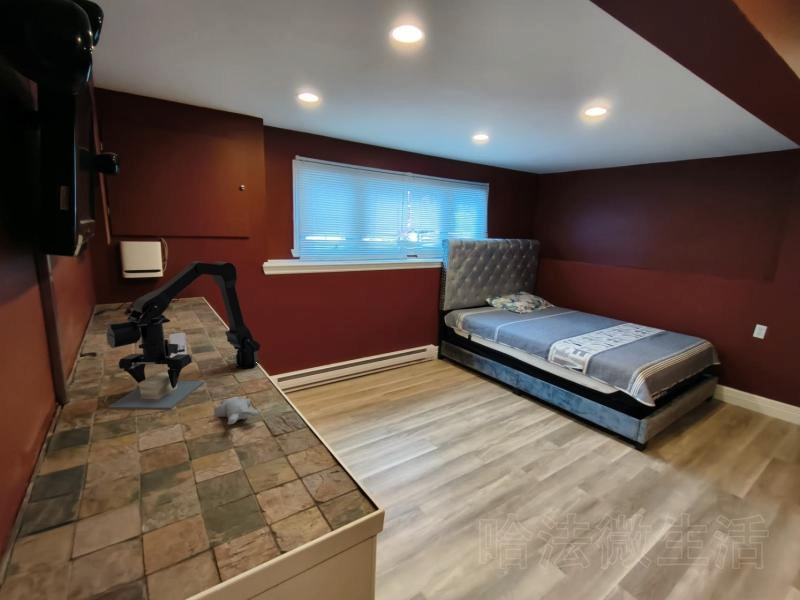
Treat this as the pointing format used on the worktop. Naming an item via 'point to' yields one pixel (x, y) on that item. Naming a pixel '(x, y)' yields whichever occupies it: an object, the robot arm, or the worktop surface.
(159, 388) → the card box
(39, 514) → the worktop surface
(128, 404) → the rubber mat
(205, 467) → the worktop surface
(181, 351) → the mobile phone
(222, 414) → the bunny figurine
